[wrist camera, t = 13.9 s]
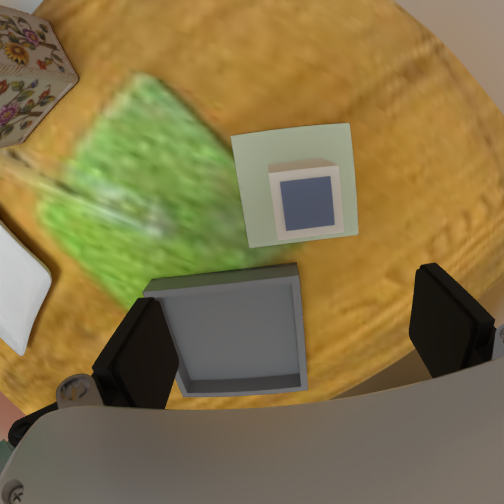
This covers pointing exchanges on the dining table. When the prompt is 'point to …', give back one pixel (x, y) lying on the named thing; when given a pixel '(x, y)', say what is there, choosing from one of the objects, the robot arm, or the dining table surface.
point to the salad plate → (19, 290)
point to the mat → (289, 149)
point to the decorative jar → (29, 74)
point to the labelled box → (306, 198)
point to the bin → (236, 330)
